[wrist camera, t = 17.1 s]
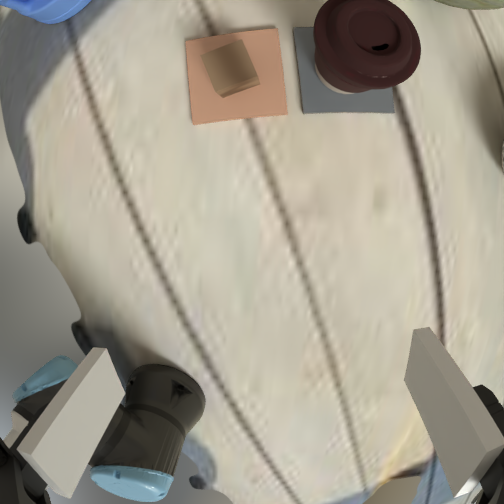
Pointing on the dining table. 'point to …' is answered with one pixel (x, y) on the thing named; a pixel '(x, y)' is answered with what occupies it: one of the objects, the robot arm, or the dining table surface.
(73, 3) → the water jug
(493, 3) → the vase
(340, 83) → the coffee cup
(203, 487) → the dining table surface
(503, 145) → the bowl
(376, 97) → the slate tile
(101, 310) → the dining table surface
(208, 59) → the walnut block
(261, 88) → the terracotta tile
